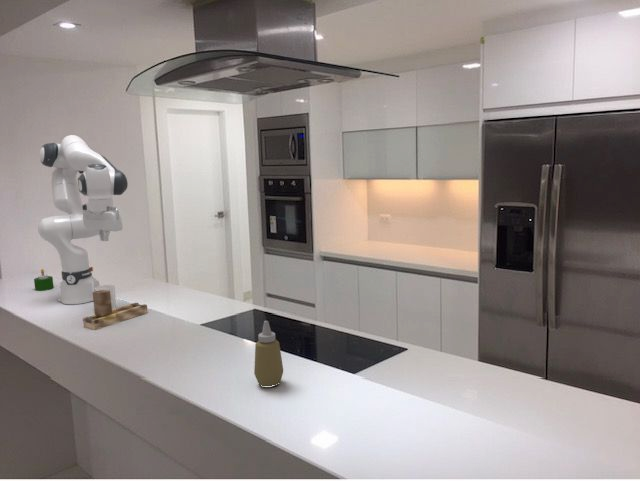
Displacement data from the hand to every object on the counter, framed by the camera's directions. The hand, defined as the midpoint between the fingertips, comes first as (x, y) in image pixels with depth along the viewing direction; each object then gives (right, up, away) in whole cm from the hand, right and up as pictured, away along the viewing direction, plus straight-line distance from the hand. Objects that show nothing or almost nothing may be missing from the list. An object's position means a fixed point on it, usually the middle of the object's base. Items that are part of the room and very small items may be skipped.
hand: (104, 240), depth 216 cm
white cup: (-4, -29, +14) cm, 33 cm away
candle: (-52, -24, +55) cm, 79 cm away
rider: (+2, -30, -6) cm, 30 cm away
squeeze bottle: (+71, -40, -65) cm, 104 cm away
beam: (+5, -31, -1) cm, 32 cm away
